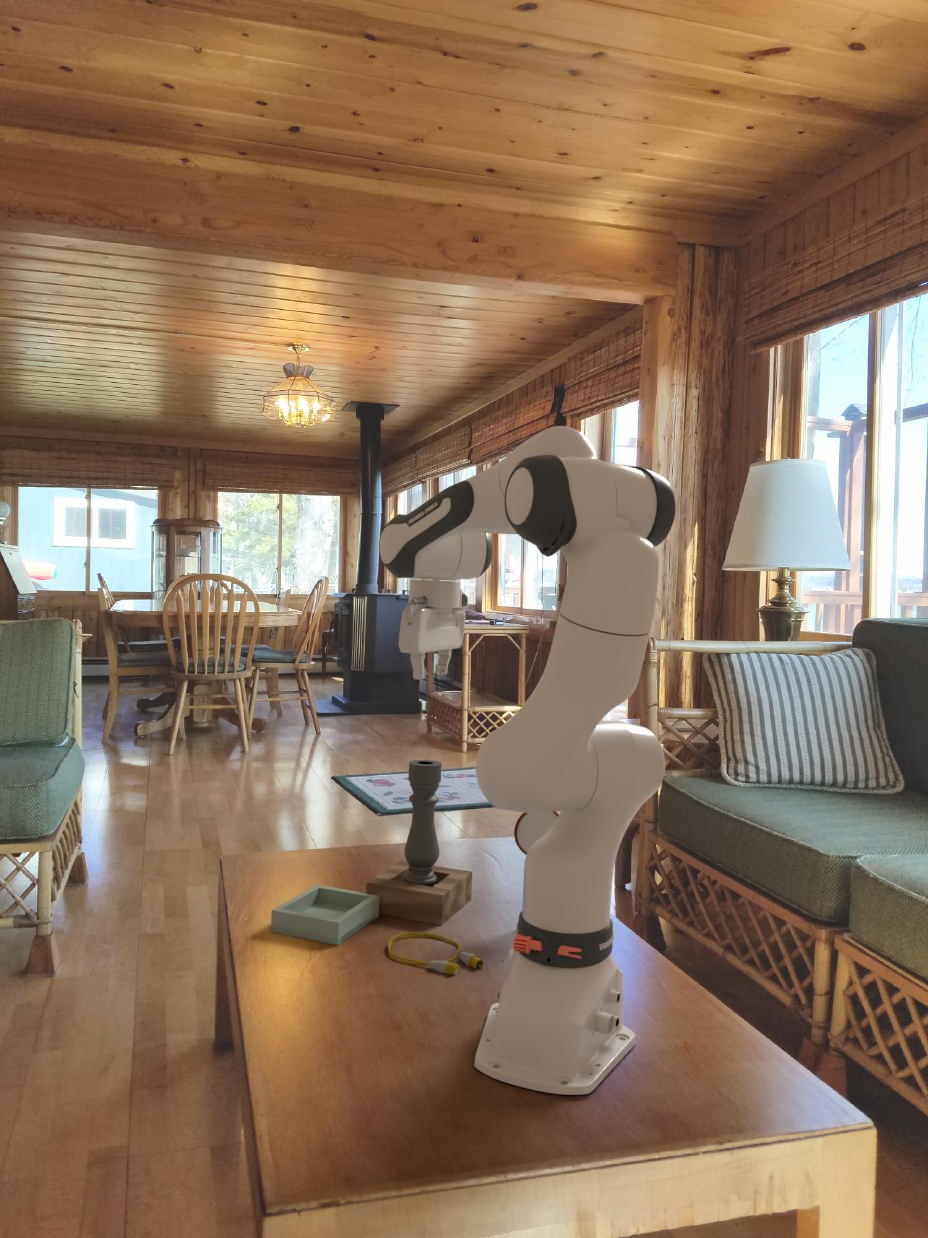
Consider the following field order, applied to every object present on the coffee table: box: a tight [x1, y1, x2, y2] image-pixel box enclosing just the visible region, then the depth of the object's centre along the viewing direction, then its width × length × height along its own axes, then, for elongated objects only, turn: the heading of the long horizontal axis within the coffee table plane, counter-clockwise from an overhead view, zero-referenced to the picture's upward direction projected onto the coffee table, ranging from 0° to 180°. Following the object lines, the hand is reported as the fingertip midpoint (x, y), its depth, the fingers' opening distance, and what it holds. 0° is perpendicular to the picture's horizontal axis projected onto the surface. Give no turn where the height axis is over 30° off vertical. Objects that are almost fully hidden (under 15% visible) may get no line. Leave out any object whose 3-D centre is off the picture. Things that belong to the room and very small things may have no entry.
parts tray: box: [270, 884, 380, 946], centre depth 146 cm, size 14×12×4 cm
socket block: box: [365, 860, 473, 926], centre depth 157 cm, size 14×14×5 cm
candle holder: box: [403, 759, 443, 887], centre depth 156 cm, size 6×6×25 cm
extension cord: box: [387, 931, 485, 976], centre depth 135 cm, size 12×16×2 cm
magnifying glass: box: [513, 811, 560, 856], centre depth 149 cm, size 9×2×20 cm, turn 102°
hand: (430, 677), depth 155 cm, fingers open, 8 cm apart
